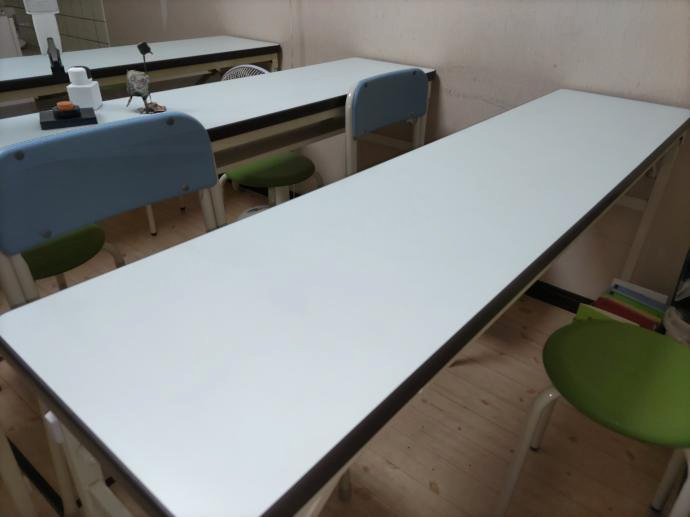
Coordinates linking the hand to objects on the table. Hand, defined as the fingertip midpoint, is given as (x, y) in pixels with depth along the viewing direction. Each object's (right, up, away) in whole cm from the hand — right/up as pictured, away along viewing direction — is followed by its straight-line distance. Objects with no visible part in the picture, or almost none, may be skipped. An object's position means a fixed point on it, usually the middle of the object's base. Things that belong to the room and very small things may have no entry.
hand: (60, 81), depth 139 cm
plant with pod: (+17, -4, +17) cm, 25 cm away
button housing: (-1, -10, +6) cm, 11 cm away
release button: (-1, -7, +4) cm, 8 cm away
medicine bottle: (-2, -2, +19) cm, 19 cm away
